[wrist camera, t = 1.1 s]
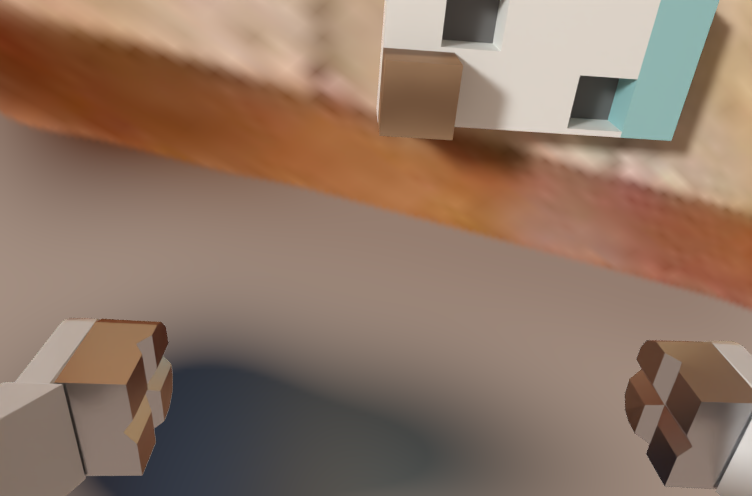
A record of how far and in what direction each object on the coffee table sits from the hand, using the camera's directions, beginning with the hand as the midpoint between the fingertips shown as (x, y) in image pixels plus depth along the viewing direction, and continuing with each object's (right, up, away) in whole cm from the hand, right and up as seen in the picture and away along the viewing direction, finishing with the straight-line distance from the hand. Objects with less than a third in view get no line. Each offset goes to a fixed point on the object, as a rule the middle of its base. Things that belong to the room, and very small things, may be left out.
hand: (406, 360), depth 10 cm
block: (+2, +11, +23) cm, 26 cm away
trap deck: (+9, +14, +25) cm, 30 cm away
